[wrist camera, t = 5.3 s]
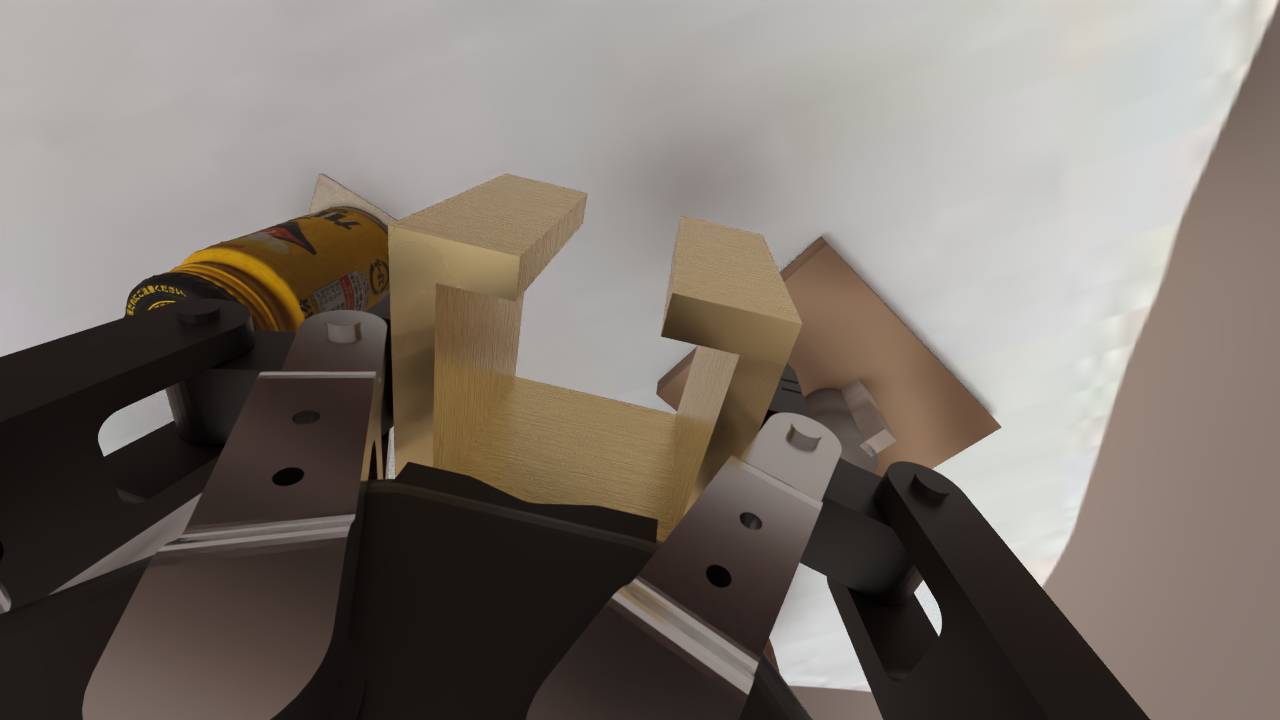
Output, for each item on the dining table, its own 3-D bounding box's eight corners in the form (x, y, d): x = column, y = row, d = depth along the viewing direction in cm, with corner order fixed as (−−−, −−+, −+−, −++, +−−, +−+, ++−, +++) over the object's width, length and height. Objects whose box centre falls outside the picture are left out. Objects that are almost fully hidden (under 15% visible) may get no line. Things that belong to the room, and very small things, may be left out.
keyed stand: (819, 517, 37) (841, 595, 31) (658, 381, 33) (649, 443, 27) (989, 413, 32) (1053, 485, 26) (820, 236, 28) (852, 275, 22)
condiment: (322, 172, 29) (105, 222, 18) (456, 256, 30) (327, 346, 20) (291, 273, 32) (91, 365, 22) (413, 345, 34) (284, 462, 23)
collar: (694, 439, 14) (693, 592, 10) (488, 391, 14) (396, 524, 10) (762, 235, 12) (802, 324, 7) (505, 173, 12) (387, 225, 7)
